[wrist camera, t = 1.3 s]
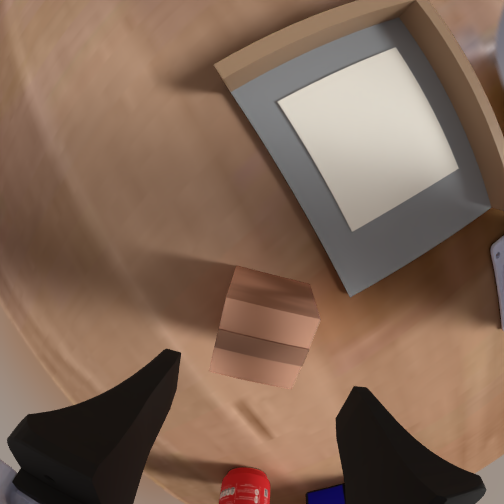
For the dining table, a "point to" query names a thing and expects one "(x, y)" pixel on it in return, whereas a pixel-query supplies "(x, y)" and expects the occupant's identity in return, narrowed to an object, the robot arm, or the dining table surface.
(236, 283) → the block
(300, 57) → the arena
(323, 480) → the dining table surface
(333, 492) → the puzzle cube
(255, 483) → the beverage can
